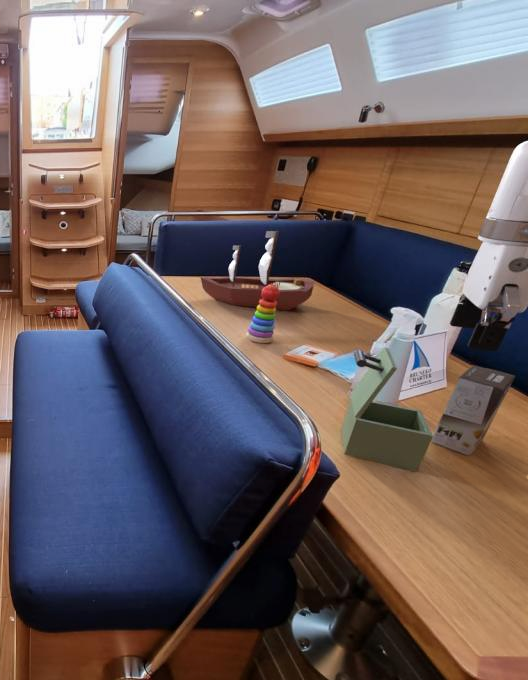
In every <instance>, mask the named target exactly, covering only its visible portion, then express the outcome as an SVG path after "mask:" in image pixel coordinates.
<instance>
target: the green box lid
mask: <svg viewBox="0 0 528 680" xmlns="http://www.w3.org/2000/svg"><path fill="white" fill-rule="evenodd" d="M353 356H354V359H355V363H356V366H357V367H358V368H365V367H366V368H368V369H367V370H366V372H365V373H364V374H363V376H361V378H360V380H359V381H358V382H357V384H356V385H355V386H354V388H353V390H352V391H351V392H350V394H349V396H350V400H351V401H352V406H353V411H354V416H355V417H357V418H360V417H361V415H362V414H363V413H364V411H365V410H366V409H367V407H368V406H369V405H370V404H371V402H372V401H374V400H375V399H376V397H377V396H378V394H379V393H380V392H381V391H382V390H383V388H384V387H385V385H386V384H387V383H388V382H389V380H390V379H391V378H392V377H393V375H394V374H395V373H396V372H397V370H398V368H397V365H396V363H395V360H394V358H393V356H392V354H391V351H390V349H389V348H388V347H383V348H382V349H381V351H380V352H379V353H378V355H377V356H376V357H374V356H372V355H369V354H366V353H365V352H364V351H363V350H362V349H357V350H355V351H354V352H353ZM368 361H370V362H372V363H370V362H368Z"/></svg>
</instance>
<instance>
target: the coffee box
mask: <svg viewBox="0 0 528 680" xmlns="http://www.w3.org/2000/svg"><path fill="white" fill-rule="evenodd" d="M515 379H516V375H514V374H510V373H507V372H503V371H499V370H496V369H492V368H487V367H482V366H479V365H474V364H473V365H471V366H470V367H469V368H468V369H467V370H465V371H464V372H463V373H461V375H459V377H458V380H457V382H456V384H455V386H454V389H453V391H452V393H451V395H450V397H449V399H448V402H447V404H446V406H445V408H444V411H443V413H442V415H441V417H440V419H439V421H438V423H437V426H436V428H435V430H434V433H432V435H433V437H432V440H431V442H432V443H434V444H437V445H439V446H442V447H444V448H447V449H448V450H452V451H454V452H457V453H460V454H463V455H466V456H471V455H472V454H473V452H474V451H475V450H476V449H477V447H479V445H480V444H481V442H482V441H483V440H484V438H485V436H486V435H487V432H488V431H489V429H490V426H491V425H492V424H493V421H494V419H495V417H496V415H497V413H498V411H499V409H500V407H501V406H502V404H503V402H504V400H505V397H506V396H507V394H508V392H509V391H510V388H511V386H512V384H513V382H514V381H515ZM431 442H430V443H431Z"/></svg>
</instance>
